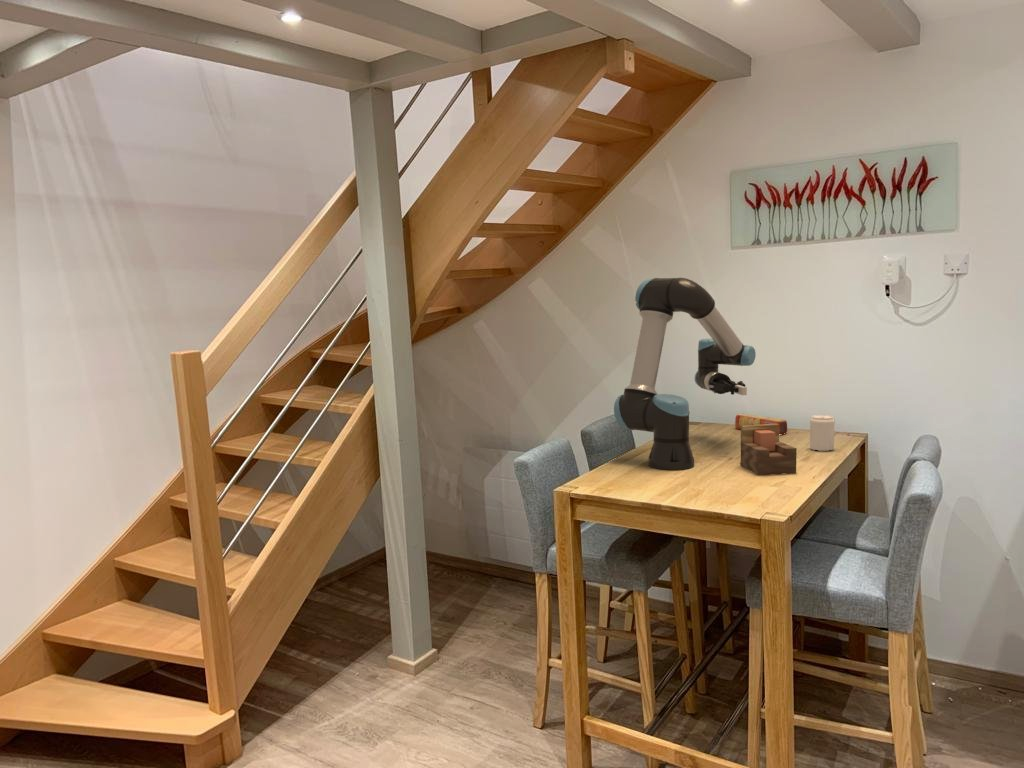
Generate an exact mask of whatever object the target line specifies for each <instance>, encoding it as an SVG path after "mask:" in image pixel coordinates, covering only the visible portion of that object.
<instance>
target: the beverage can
mask: <svg viewBox="0 0 1024 768" xmlns="http://www.w3.org/2000/svg"><path fill="white" fill-rule="evenodd" d="M835 423H836V422H835V419H834V416H833V415H829V414H828V415H826V414H814V415H811V418H810V421H809V448H810V450H812V451H815V450H819V451H818V452H822V451H826V452H830V451H829V450H831V451H832V450H834V449H835V425H836V424H835Z"/></svg>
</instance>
